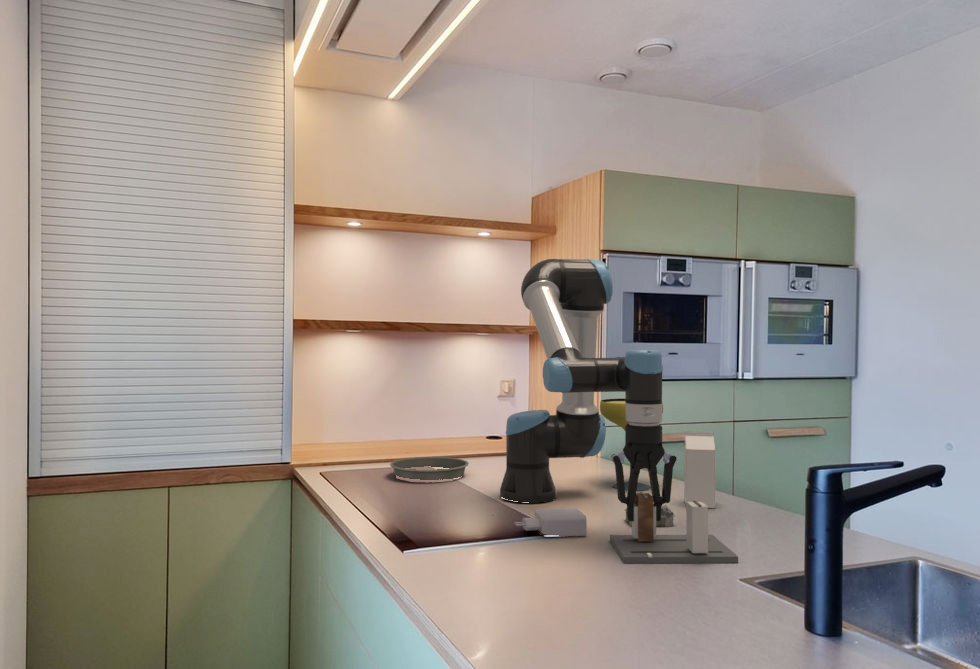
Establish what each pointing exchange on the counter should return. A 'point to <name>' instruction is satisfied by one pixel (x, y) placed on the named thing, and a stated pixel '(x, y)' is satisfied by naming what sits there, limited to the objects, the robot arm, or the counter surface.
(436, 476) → the cake pan
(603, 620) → the counter surface
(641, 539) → the block
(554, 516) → the grey bottle
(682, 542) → the console
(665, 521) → the egg carton
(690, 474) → the milk carton
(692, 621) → the counter surface
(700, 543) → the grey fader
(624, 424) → the cocktail glass
